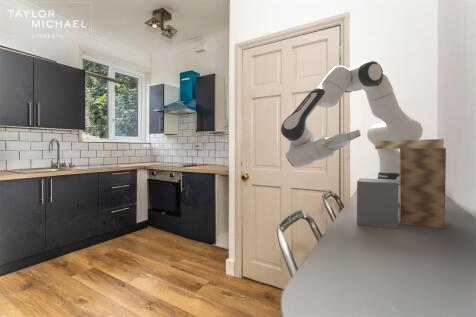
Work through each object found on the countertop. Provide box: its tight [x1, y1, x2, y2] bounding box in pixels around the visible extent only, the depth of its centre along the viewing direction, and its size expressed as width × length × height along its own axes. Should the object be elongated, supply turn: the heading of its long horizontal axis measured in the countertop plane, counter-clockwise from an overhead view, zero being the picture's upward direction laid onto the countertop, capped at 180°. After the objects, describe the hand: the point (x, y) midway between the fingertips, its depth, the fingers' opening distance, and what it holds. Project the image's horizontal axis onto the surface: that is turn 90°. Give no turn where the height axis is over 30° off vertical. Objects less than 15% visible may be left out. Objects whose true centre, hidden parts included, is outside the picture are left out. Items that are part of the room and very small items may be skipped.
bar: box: [374, 138, 445, 150], centre depth 89 cm, size 20×3×3 cm, turn 59°
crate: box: [356, 177, 399, 230], centre depth 88 cm, size 12×10×15 cm
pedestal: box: [398, 147, 447, 229], centre depth 88 cm, size 12×10×26 cm
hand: (360, 132), depth 96 cm, fingers open, 8 cm apart
